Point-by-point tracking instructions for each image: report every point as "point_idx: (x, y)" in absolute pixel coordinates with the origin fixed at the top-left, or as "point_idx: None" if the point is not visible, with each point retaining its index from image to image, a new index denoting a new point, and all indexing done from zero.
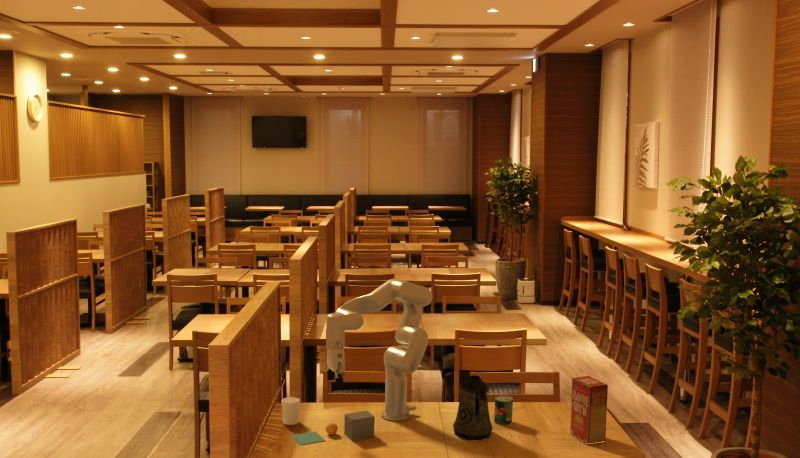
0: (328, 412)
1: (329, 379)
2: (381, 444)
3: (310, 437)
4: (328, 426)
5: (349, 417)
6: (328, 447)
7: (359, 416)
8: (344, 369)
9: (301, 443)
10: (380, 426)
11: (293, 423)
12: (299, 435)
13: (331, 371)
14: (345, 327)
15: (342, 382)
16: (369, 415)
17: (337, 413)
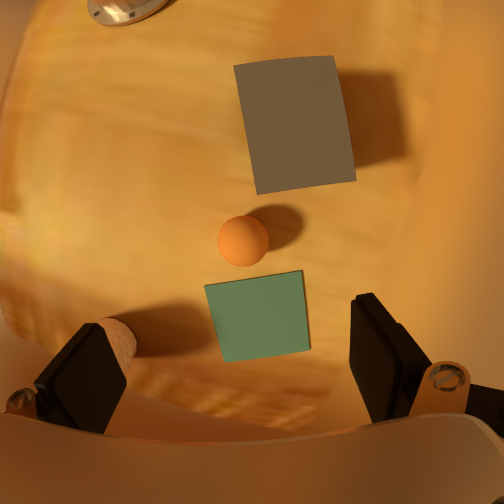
0: (45, 206)
1: (120, 377)
2: (383, 86)
3: (259, 313)
4: (254, 261)
5: (315, 182)
6: (357, 270)
7: (315, 125)
8: (497, 444)
9: (300, 344)
10: (210, 37)
11: (133, 339)
12: (232, 340)
13: (74, 420)
14: None
15: (389, 323)
16: (312, 72)
17: (55, 176)
